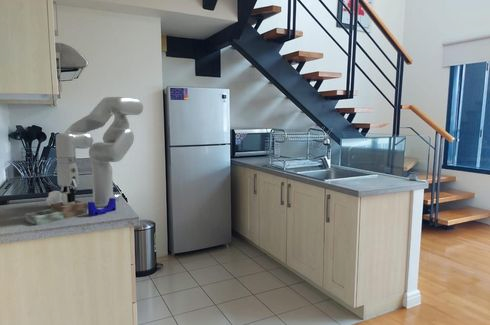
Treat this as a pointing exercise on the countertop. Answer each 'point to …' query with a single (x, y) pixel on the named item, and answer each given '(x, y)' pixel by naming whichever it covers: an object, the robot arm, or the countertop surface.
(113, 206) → the blue curved block
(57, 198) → the white round lump
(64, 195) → the peg
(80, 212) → the socket block
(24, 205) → the countertop surface
